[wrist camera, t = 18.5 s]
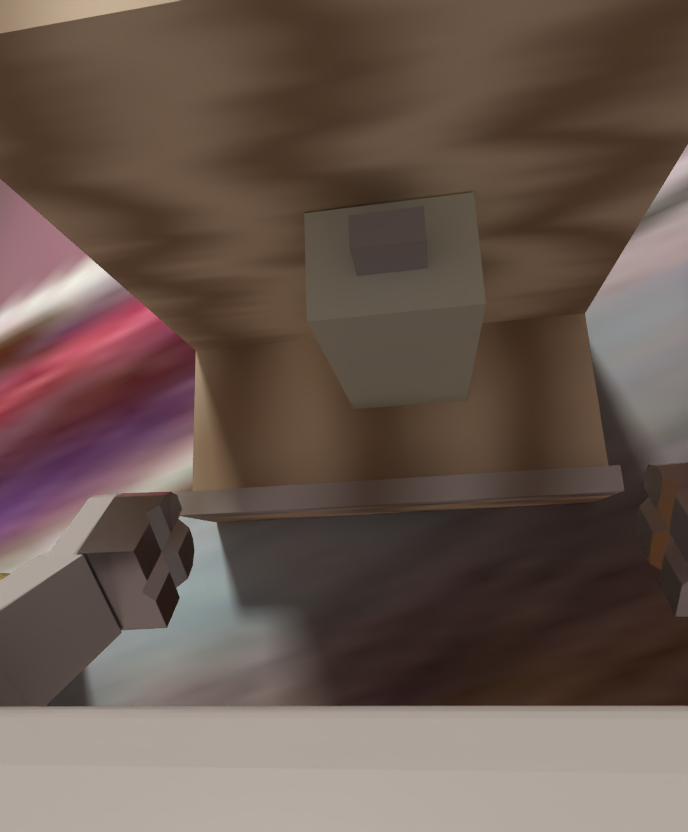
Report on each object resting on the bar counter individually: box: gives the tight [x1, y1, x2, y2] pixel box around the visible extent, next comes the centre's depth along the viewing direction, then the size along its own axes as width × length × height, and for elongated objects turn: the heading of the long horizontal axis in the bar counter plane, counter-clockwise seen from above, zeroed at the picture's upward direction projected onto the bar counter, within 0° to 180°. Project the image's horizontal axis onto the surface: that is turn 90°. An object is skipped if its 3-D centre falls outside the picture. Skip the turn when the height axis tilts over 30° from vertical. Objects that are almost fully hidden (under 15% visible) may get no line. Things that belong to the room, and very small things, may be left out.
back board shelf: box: [0, 0, 688, 522], centre depth 19 cm, size 18×10×20 cm, turn 92°
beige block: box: [304, 192, 486, 409], centre depth 21 cm, size 5×4×12 cm
